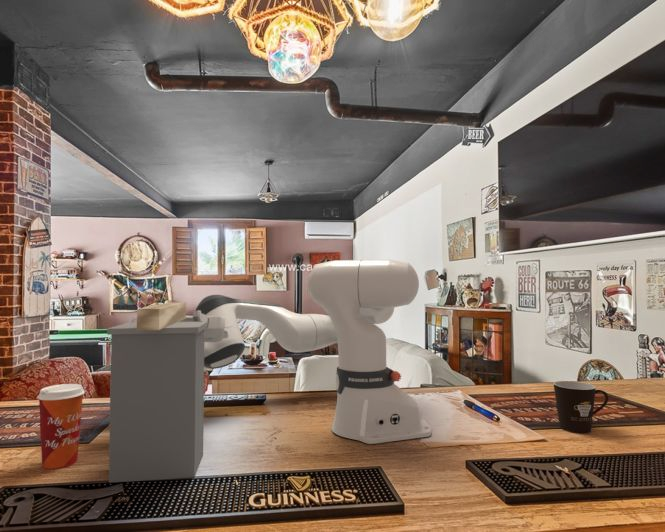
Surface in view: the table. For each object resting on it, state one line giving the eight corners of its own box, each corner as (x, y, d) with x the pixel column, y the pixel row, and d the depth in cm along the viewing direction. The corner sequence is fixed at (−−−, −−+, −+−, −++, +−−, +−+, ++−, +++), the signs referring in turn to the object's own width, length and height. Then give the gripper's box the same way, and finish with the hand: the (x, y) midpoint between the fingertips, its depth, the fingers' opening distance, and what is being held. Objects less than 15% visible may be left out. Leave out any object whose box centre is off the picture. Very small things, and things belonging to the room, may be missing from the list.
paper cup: (48, 475, 77) (50, 394, 78) (27, 465, 81) (29, 389, 82) (92, 460, 84) (94, 385, 84) (71, 451, 88) (72, 381, 88)
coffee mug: (555, 432, 99) (555, 387, 99) (552, 421, 107) (551, 379, 107) (616, 439, 95) (615, 392, 95) (608, 427, 103) (607, 383, 103)
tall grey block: (206, 453, 87) (207, 321, 88) (196, 478, 76) (198, 327, 77) (126, 458, 85) (128, 322, 86) (104, 484, 74) (107, 328, 75)
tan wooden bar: (185, 318, 95) (185, 302, 95) (159, 330, 73) (159, 308, 73) (168, 318, 95) (169, 302, 95) (136, 330, 72) (137, 308, 72)
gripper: (228, 351, 104) (222, 326, 93) (137, 352, 101) (120, 328, 90) (229, 326, 108) (224, 300, 96) (141, 327, 105) (125, 300, 93)
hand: (173, 313), depth 93 cm, fingers open, 8 cm apart
